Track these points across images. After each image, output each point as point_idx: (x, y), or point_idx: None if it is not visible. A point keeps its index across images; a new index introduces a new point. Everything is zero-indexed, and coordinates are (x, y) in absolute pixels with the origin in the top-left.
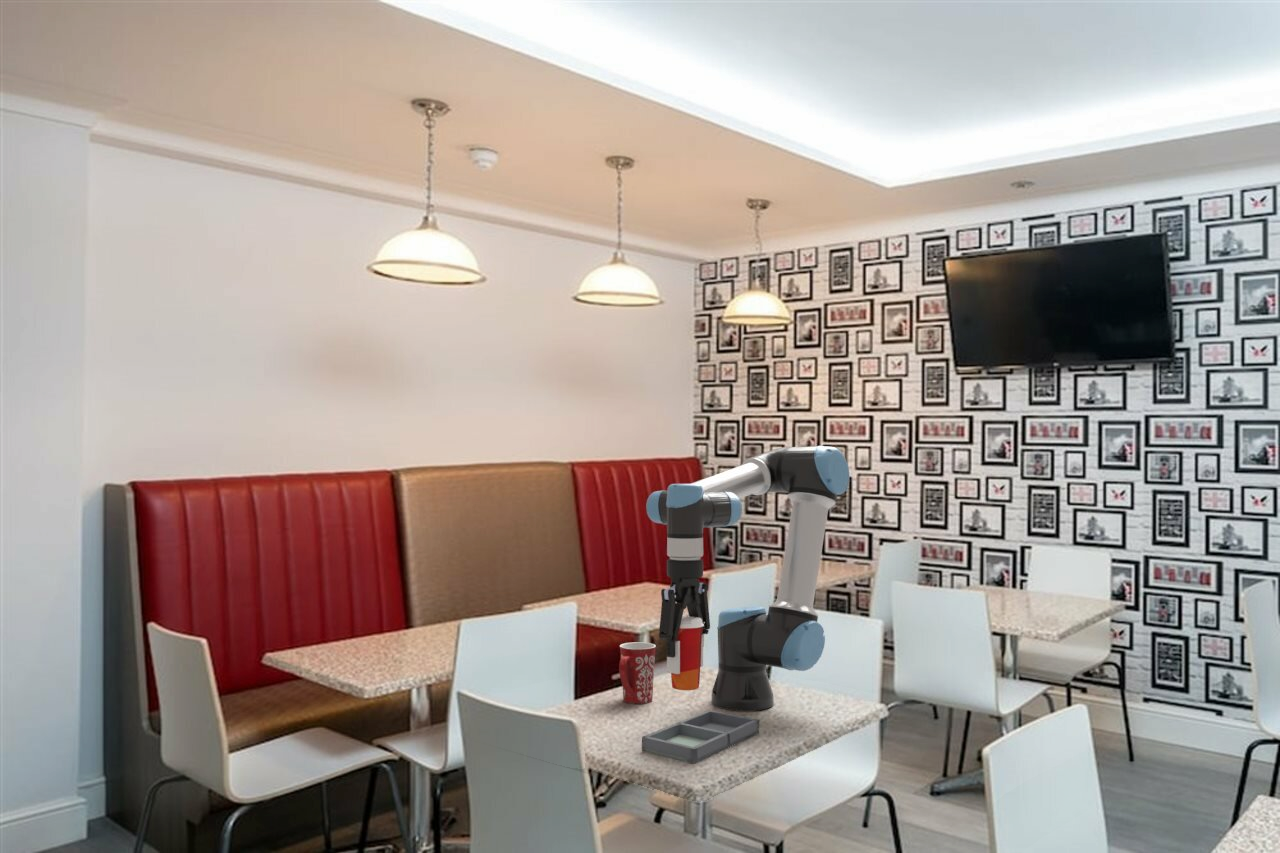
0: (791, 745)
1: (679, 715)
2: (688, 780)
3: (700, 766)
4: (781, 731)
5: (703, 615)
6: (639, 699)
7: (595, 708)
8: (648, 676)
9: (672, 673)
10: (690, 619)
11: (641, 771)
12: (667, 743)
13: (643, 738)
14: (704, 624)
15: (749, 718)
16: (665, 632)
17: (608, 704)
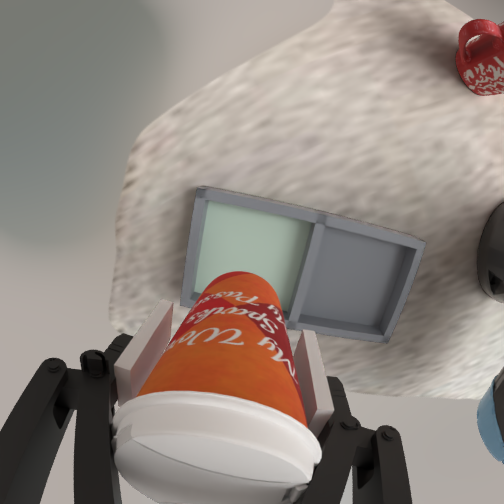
0: None
1: (436, 167)
2: (124, 308)
3: (181, 306)
4: (394, 354)
5: (359, 502)
6: (464, 76)
7: (401, 11)
8: (500, 84)
9: (196, 301)
10: (200, 502)
11: (117, 233)
12: (187, 250)
13: (196, 191)
14: (361, 465)
15: (391, 327)
16: (80, 386)
17: (432, 27)
